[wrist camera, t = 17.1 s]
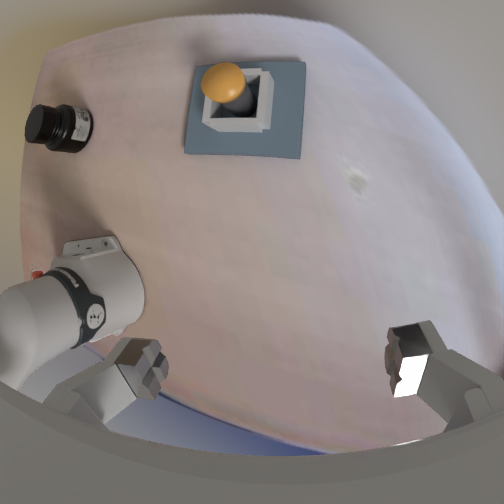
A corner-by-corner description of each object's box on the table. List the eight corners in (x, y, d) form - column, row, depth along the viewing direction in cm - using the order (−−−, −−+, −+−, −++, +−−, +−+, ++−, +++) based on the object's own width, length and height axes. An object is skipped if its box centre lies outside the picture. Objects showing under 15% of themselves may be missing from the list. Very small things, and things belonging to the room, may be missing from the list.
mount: (188, 154, 39) (171, 149, 34) (200, 70, 36) (185, 56, 31) (300, 159, 35) (296, 152, 30) (306, 66, 32) (302, 49, 28)
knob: (225, 120, 35) (198, 101, 27) (228, 89, 34) (204, 64, 26) (259, 121, 34) (240, 98, 26) (262, 89, 33) (245, 60, 25)
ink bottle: (99, 135, 43) (50, 126, 31) (73, 163, 45) (25, 160, 34) (88, 100, 42) (43, 87, 31) (63, 128, 45) (20, 121, 33)
